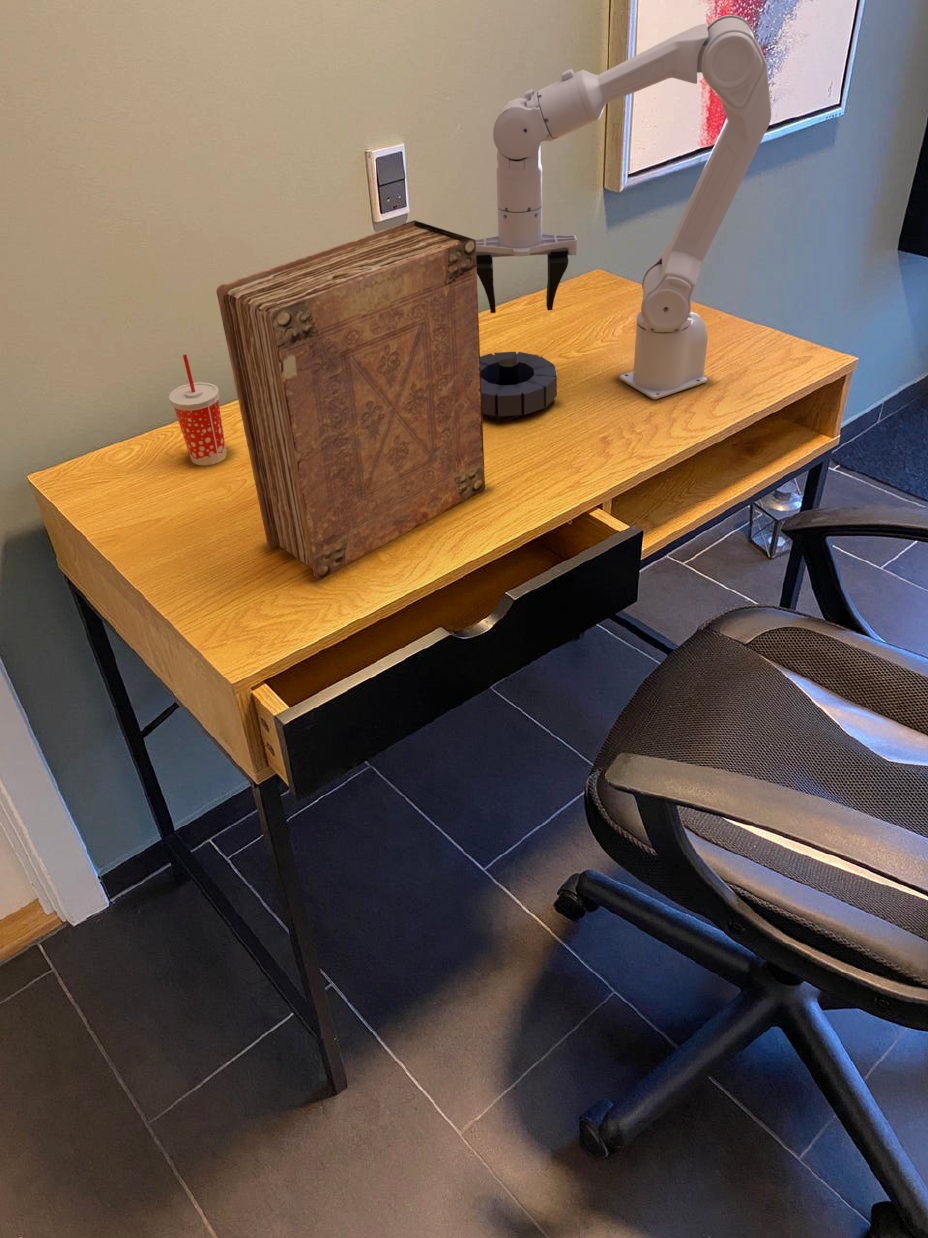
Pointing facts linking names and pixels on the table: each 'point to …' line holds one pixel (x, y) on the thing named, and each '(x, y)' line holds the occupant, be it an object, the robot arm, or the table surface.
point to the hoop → (517, 385)
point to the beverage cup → (200, 420)
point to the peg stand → (508, 381)
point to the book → (359, 389)
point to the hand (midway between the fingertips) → (521, 308)
